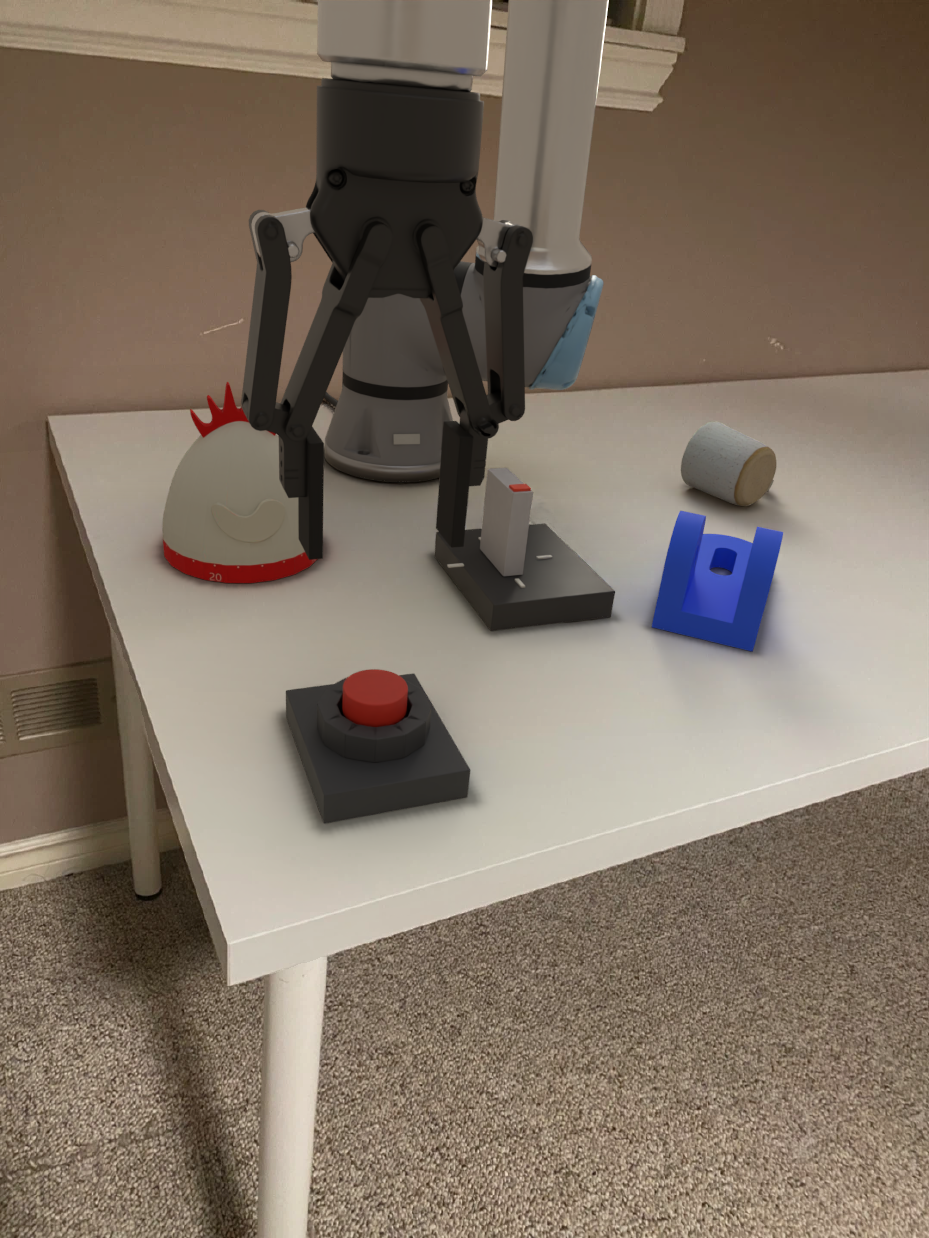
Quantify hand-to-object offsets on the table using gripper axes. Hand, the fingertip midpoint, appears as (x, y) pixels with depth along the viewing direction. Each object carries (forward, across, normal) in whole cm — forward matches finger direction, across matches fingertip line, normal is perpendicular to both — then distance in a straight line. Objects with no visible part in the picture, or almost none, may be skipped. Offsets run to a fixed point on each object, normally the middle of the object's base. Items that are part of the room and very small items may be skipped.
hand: (381, 542), depth 53 cm
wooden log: (+15, -52, -36) cm, 65 cm away
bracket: (+15, -36, -15) cm, 42 cm away
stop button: (+12, 0, 0) cm, 12 cm away
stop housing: (+15, 0, 0) cm, 15 cm away
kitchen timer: (+15, +3, -32) cm, 36 cm away
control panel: (+15, -19, -20) cm, 31 cm away
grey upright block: (+13, -17, -20) cm, 29 cm away
